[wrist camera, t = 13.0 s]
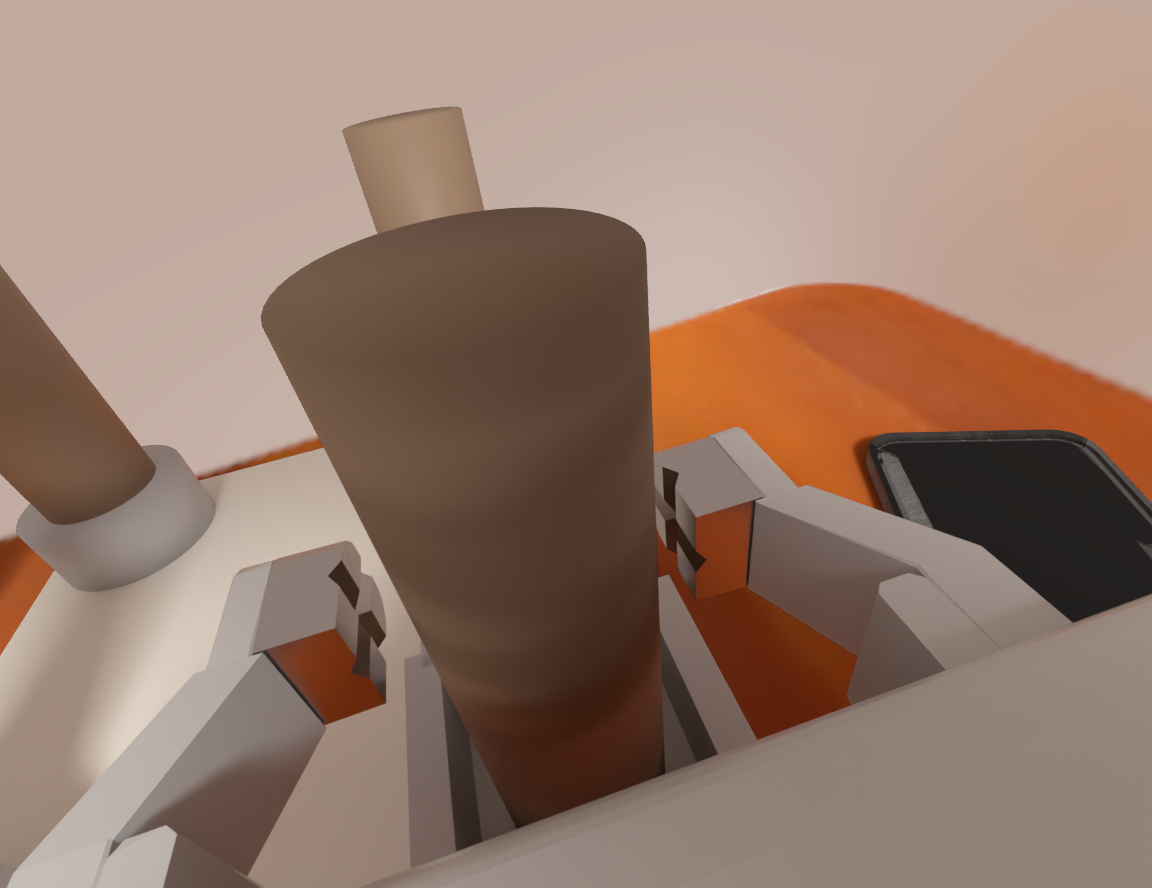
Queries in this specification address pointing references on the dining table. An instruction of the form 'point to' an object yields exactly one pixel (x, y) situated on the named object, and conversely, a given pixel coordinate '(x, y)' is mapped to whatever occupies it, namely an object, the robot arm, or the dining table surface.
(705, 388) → the dining table surface
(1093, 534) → the phone
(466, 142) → the stool
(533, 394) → the loose leg
